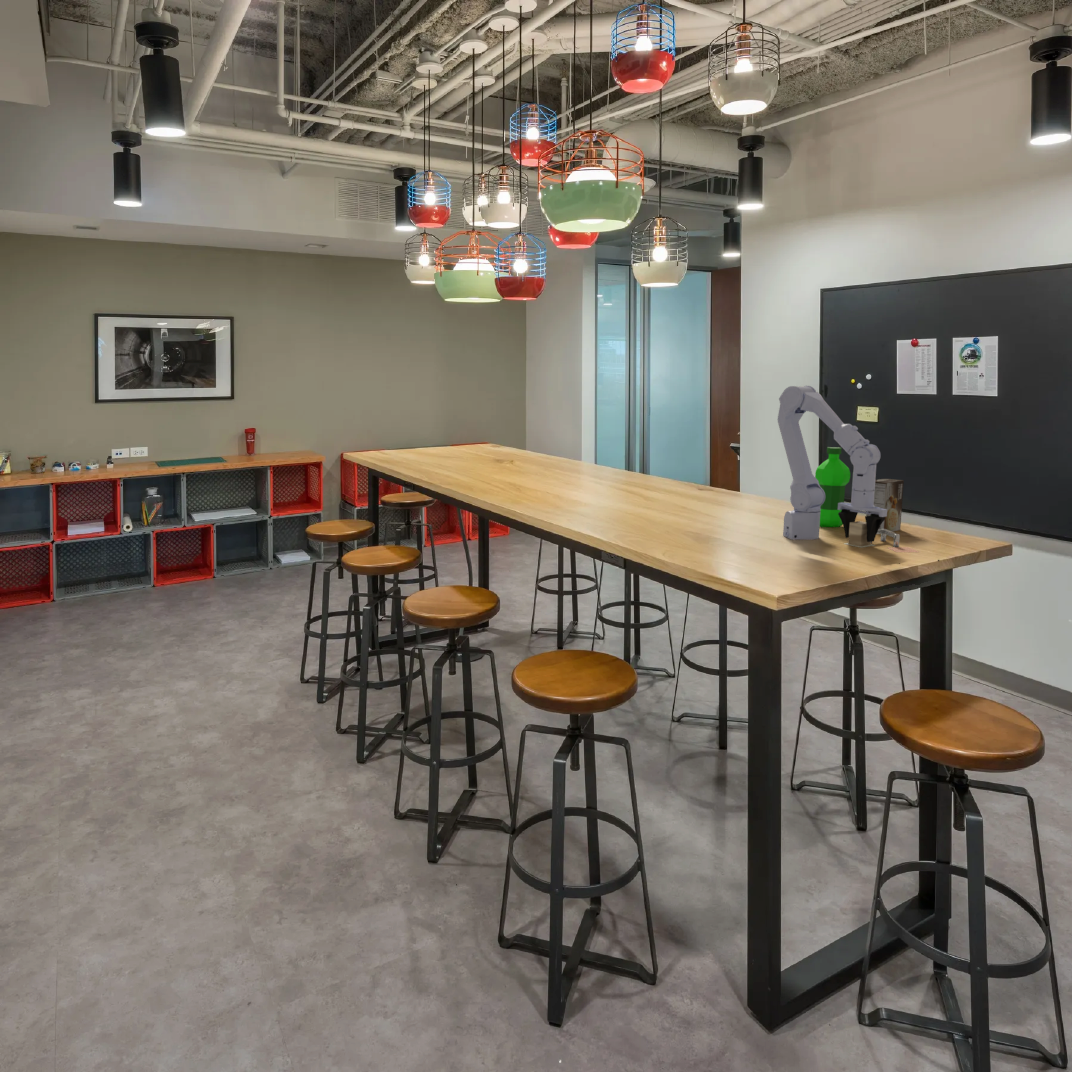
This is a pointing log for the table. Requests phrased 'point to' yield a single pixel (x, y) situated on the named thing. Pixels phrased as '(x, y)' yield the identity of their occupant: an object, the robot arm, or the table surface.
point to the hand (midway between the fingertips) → (859, 539)
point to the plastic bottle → (832, 487)
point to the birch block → (858, 533)
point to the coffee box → (889, 502)
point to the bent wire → (889, 533)
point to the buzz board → (896, 549)
